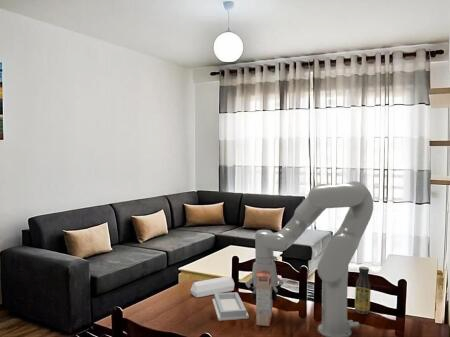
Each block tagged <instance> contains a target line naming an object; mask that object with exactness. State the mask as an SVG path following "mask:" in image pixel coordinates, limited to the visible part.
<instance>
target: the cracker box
mask: <svg viewBox="0 0 450 337" xmlns="http://www.w3.org/2000/svg"><path fill="white" fill-rule="evenodd" d="M272 291H273V288H272V286H271V273H270V272H264V273H257V275H256V303H255V304H256V305H255V309H256V310H255V312H256V313H255V316H256V317H255V318H256V319H255V324H256V326H259V327H260V326H262V327H270V325H271V321H272V320H271V319H272V317H273V300H272Z"/></svg>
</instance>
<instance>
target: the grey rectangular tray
mask: <svg viewBox="0 0 450 337" xmlns="http://www.w3.org/2000/svg"><path fill="white" fill-rule="evenodd" d="M212 304H213V307H214V311H215V313H216V316H217V320H218V321H220V322H221V321H232V320H244V319H245V320H247V319H250V317H249V316H250V315H249V313H248V311H247V309H246V306H245V305H244V303H243V301H242V298H241V297H240V295H239V293H238V292H236V291H235V292H223V293H217V294H214V298H212Z"/></svg>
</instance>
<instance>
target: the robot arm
mask: <svg viewBox="0 0 450 337" xmlns="http://www.w3.org/2000/svg"><path fill="white" fill-rule="evenodd" d="M339 208H340V209H341V208H348V210H347V212H346V214H345V216H344V218H343V220H342V223H341V225H340V227H339V228H338V230H337V231H336V232H335V233H334V234H333V235H332V236H331V238H330V239H329V242H328V243H327V245H326V248H325V249H324V252H323V254H322V256H321V258H320V259H319V262H318V265H317V270H316V271H317V274H318V277H319V278H320V280H322V281H321V288H322V289H321V324H319V325H318V326H317V331H318V333H319V334H320V335H322V336H324V337H350V336H351V335H352V328H359V327H360V323H359V321H353V320H352V319H348V282H349V281H348V279H349V265H350V263H351V262H352V259H353V258H354V256H355V253H356V251H357V249H358V247H359V245H360V242H361V239H362V238H363V235H364V234H365V231H366V230H367V227H368V225H369V222H370V220H371V217H372V216H373V211H374V199H373V196H372V193H371V192H370V190H369V189H368V187H367V186H365V184H364V183H362V182H361V181H357V180H355V181H349V182H347V183H342V184H340V183H339V184H333V185H332V184H331V185H329V184H326V183H325V184H324V183H321V184H317V185H315V186H313V187H312V188H311V189H310V190H309V192H308V195H307V196H306V197H305V199H304V200H303V201H301V203H300V204H299V205H298V206H297V207H296V209H295V210H294V214H293V216H292V217H291V219H290V220H289V221H288V222H287V223H286V224H285V226H284V227H283V228H281V229H280V230H279V231H277V232H273V231H272V230H270V229H258V230H256V232H255V235H254V236H255V239H254V240H255V242H254V243H255V248H254V249H255V254H254V255H255V261H254V262H252V263H253V264H252V271H251V272H252V273H251V278H250V279H249V280H248V281H246V282H245V285H246V287H247V288H248V289H249V291H250V292H251V293H252V301H253V302H254V303H255V304H256V275H257V273H264V272H270V273H271V286H272V302H274V303H276V301H277V299H278V298H277V297H278V291H279V290H280V289H281V288H282V286H283V284H284V283H285V282H284V280H283V279H281V278H280V277H278V274H277V267H276V263H275V261H277V260H278V259H277V258H278V256H275V255H274V251H276V252H283V251H285V250H287V249H288V248H289V247H292V245H293V244H294V243H295V242H296V241H297V240H298V239H299V238H300V237H301V236H302V235H303V233H305V231H306V230H307V229H309V227H311V226H312V224H314V222H315V221H316V220H317V219H318V217H320V216H321V214H323V212H324V211H325V210H326V209H339ZM251 284H252V285H253V287H252V286H251Z"/></svg>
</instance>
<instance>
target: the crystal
mask: <svg viewBox="0 0 450 337" xmlns="http://www.w3.org/2000/svg"><path fill="white" fill-rule="evenodd" d="M234 289H235V282H234V279H233V277H231V275H227V276H222V277H221V276H220V277H217V278H211V279H205V280H199V281H194V282H193V283H192V285H191V288H190V294H192V295H193V296H194V297H195V298H201V297H207V296H211V295H215V294H219V293H229V292H232V291H234Z"/></svg>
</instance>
